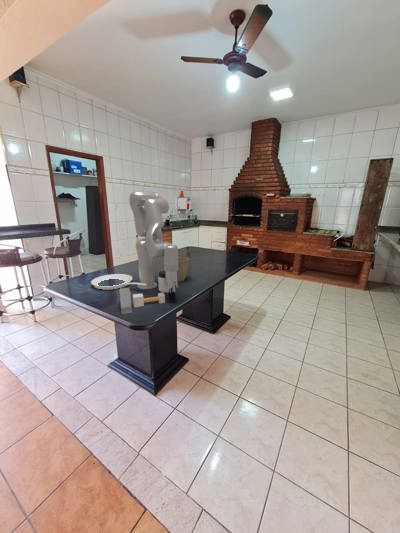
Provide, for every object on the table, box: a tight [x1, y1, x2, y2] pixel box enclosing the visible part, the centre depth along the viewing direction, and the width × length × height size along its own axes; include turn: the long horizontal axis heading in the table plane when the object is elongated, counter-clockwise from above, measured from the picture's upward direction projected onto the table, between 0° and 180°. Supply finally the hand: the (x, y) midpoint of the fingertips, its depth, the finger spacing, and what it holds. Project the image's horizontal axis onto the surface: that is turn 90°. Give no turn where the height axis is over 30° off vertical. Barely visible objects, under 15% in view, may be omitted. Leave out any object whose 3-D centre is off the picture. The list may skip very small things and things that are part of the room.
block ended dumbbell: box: [132, 292, 166, 308], centre depth 120 cm, size 4×16×6 cm, turn 111°
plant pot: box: [177, 256, 190, 283], centre depth 157 cm, size 15×15×16 cm
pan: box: [90, 273, 147, 291], centre depth 145 cm, size 26×44×6 cm, turn 59°
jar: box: [157, 270, 170, 294], centre depth 139 cm, size 9×8×12 cm
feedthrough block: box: [118, 287, 133, 315], centre depth 116 cm, size 16×5×9 cm, turn 21°
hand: (172, 298), depth 125 cm, fingers closed
